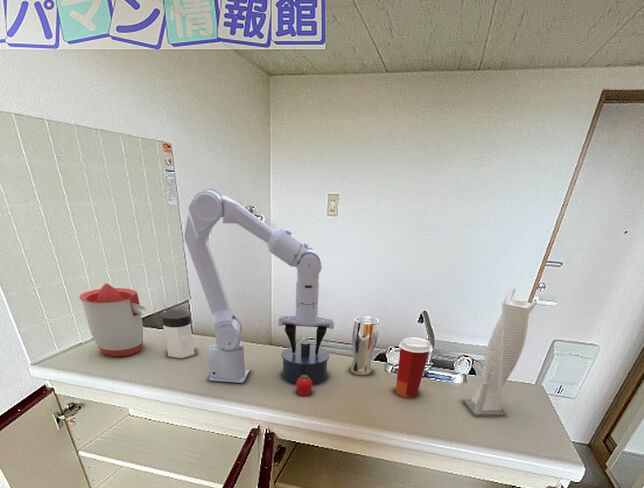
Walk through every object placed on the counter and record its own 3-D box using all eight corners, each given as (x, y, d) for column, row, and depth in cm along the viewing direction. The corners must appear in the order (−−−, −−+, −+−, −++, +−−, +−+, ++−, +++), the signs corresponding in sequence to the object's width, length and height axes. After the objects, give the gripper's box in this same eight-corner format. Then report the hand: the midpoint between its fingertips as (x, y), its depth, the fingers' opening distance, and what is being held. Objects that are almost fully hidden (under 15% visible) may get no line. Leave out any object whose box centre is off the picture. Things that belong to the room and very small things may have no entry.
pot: (280, 383, 110) (279, 363, 107) (286, 365, 120) (286, 346, 117) (324, 386, 109) (325, 366, 106) (327, 368, 119) (328, 349, 116)
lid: (277, 365, 107) (277, 349, 104) (285, 347, 117) (285, 333, 115) (327, 369, 106) (328, 353, 103) (330, 350, 116) (331, 336, 114)
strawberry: (295, 395, 104) (295, 379, 102) (297, 388, 108) (297, 372, 105) (311, 396, 104) (311, 380, 101) (312, 389, 107) (313, 373, 105)
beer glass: (372, 377, 115) (379, 325, 106) (347, 374, 116) (352, 322, 107) (373, 367, 120) (380, 317, 112) (350, 365, 121) (355, 315, 113)
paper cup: (422, 389, 109) (433, 338, 101) (419, 401, 103) (430, 349, 95) (393, 384, 111) (402, 334, 103) (389, 396, 105) (397, 344, 97)
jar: (175, 360, 121) (168, 320, 114) (162, 352, 126) (154, 314, 119) (201, 353, 126) (196, 314, 119) (187, 346, 131) (181, 308, 124)
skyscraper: (461, 399, 105) (494, 286, 89) (491, 399, 105) (529, 287, 89) (475, 415, 98) (513, 297, 82) (507, 415, 99) (551, 297, 82)
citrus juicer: (144, 361, 120) (129, 291, 109) (86, 359, 120) (65, 289, 109) (160, 342, 133) (148, 278, 121) (107, 340, 133) (90, 276, 121)
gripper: (336, 299, 105) (332, 348, 113) (281, 296, 107) (281, 345, 114) (334, 306, 100) (331, 358, 107) (277, 303, 101) (277, 354, 109)
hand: (305, 352), depth 111 cm, fingers open, 6 cm apart
